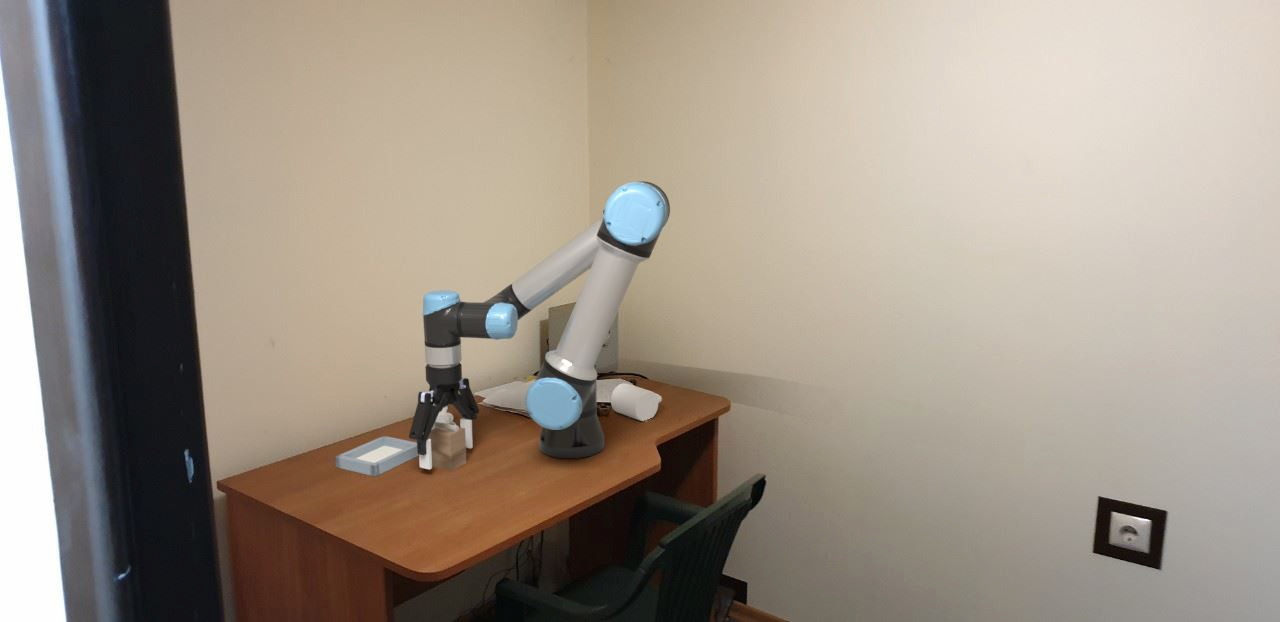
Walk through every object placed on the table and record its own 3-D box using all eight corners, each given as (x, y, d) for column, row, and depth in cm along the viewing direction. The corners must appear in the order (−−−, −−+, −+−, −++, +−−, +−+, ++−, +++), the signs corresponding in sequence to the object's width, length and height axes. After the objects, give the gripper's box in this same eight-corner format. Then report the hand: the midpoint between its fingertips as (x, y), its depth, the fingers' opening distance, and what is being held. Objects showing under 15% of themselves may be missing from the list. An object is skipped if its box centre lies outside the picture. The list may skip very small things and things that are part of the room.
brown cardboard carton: (466, 462, 170) (464, 423, 168) (451, 470, 165) (449, 430, 164) (445, 458, 172) (443, 419, 171) (429, 465, 168) (427, 425, 166)
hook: (463, 400, 197) (465, 391, 191) (455, 445, 192) (457, 438, 186) (433, 395, 196) (434, 387, 189) (424, 441, 190) (426, 434, 184)
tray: (422, 453, 175) (421, 443, 174) (375, 476, 162) (374, 465, 162) (384, 445, 180) (383, 435, 179) (335, 467, 167) (335, 456, 167)
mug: (635, 424, 195) (636, 394, 193) (610, 415, 202) (610, 386, 200) (669, 414, 203) (670, 385, 201) (644, 405, 210) (644, 377, 208)
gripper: (466, 348, 177) (469, 436, 181) (387, 375, 155) (392, 474, 159) (493, 352, 174) (495, 441, 178) (416, 380, 152) (421, 480, 156)
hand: (447, 457), depth 169 cm, fingers open, 13 cm apart
